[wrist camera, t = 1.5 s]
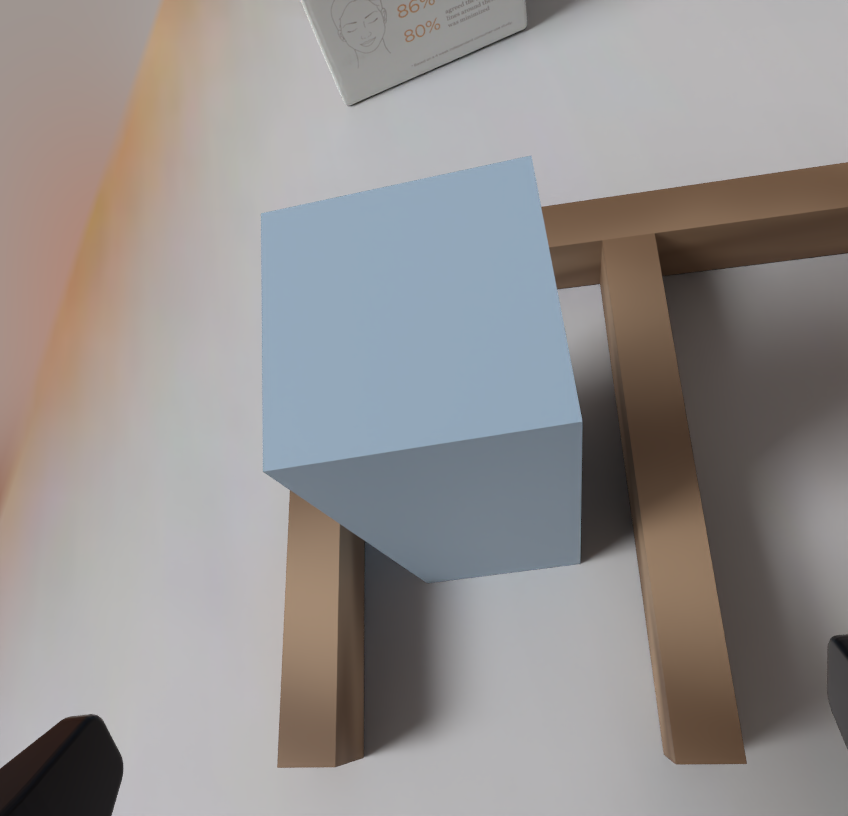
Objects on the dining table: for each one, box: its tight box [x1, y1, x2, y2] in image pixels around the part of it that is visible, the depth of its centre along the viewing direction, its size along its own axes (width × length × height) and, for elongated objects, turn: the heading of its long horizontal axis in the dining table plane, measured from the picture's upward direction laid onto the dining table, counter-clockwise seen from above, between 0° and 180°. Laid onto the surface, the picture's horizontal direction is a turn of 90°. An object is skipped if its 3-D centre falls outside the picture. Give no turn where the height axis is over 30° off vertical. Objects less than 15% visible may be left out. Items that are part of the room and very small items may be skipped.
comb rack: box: [277, 162, 848, 768], centre depth 20 cm, size 16×20×2 cm
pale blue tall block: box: [261, 156, 582, 583], centre depth 16 cm, size 4×4×12 cm
